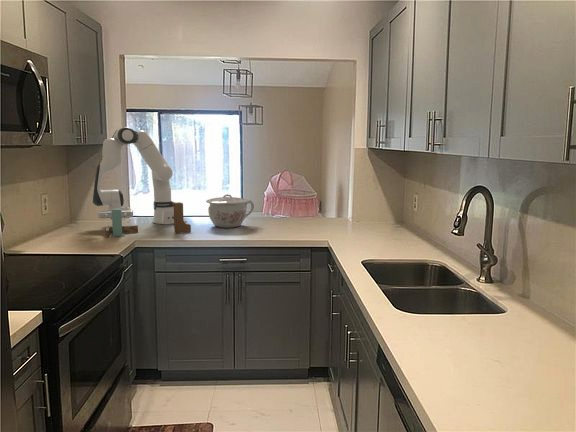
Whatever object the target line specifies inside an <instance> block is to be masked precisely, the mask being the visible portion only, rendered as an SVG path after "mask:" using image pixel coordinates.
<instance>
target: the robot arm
mask: <svg viewBox="0 0 576 432" xmlns="http://www.w3.org/2000/svg"><path fill="white" fill-rule="evenodd" d="M102 143H103V144H102V150H101V151H102V152H101V153H102V154H101V156H102V158H101V159H102V160H101V161H100V163H99V164H97V167H96V171H95V178H94V184H93V185H94V186H93V191H92V194H91V202H92V204H93V205H95V206H97V207H102V206H107V209H106V210H99V211H98V212H97V213H96V215H97V219H110V220H112V209H120V208H121V217H122V219H126V218H133V217H134V210H132V209H131V208H130V207H129V206H124V201H125V198H124V195H123V193H122V191H121V190H120V189H102V188H101V187H102V180H103V177H104V176H105V174H108V173H110V172H112V171H115V170H118V168H120V166H121V164H122V152H121V151H122V147H123V146H128V145H131V144H132V145H134V146H135V147H136V149H137V151H138V152H139V154H140V156H141V157H142V159H143V160H144V162H145V163H146V165H147V166H148V167H149V168H150V170H151V178H152V179H151V180H152V186H153V200H154V201H153V218H152V223H153V224H159V225H161V224H162V225H172V224H173V225H174V203H176V201H172V189H171V184H170V179H172V177H173V170H172V168H171V167H170V165H169V163H168V162H167V161H166V158H165V157H164V156H163V155H162V154H161V152H160V151H159V149H158V147H157V145H156V144H155V143H154V141H153V139H152V138H151V136H150V135H149V134H148V132H146V131H145V130H137V131H136V130H134V129H133V128H131V127H128V126H122V127H119V128H118V129H116V130H115V131H114V133H113V135H112V136H111V137H108V138H106V139H104V141H103V142H102ZM183 220H184V223H187V222H188V219H186V218H184V217H183Z"/></svg>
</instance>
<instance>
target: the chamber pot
mask: <svg viewBox="0 0 576 432" xmlns="http://www.w3.org/2000/svg"><path fill="white" fill-rule="evenodd" d="M232 196H233V195H231V194H224V195H223V196H222V197H214V198H209V199H207V200H205V202H206V203H208V204H209V206H208V209H207V210H208V211H207V212H208V216H209V219H210V221H211V223H212V225H214V226H215V227H218V228H219V229H220V228H221V229H233V228H237V227H240V226H241V225H242V224H243V222H244V221H245V220H246V218H247V217H249V216H250V214H252V213H253V211H254V209H255V204H254V201H252V200H251V199H246V198H243V197H242V198H241V197H235V196H233V197H232ZM248 204H250V205H251V206H250V210H249V211H247V210H248V209H247V205H248Z"/></svg>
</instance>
